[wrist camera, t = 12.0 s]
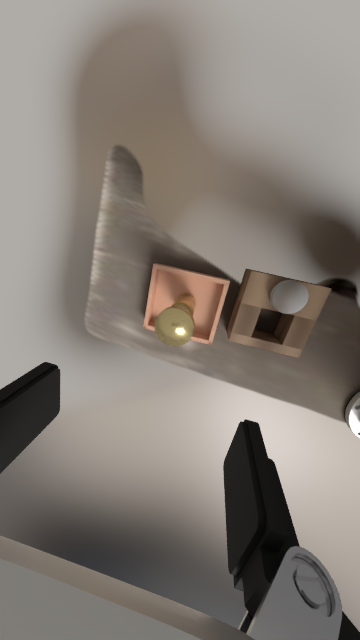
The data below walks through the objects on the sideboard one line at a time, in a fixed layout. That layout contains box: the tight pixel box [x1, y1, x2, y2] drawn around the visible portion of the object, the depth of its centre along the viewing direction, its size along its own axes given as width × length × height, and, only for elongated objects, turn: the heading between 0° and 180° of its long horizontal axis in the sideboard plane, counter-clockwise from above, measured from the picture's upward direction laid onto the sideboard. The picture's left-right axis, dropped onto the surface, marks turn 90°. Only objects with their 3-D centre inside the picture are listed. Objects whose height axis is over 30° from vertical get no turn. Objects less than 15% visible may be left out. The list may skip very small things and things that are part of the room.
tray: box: [143, 263, 230, 345], centre depth 31 cm, size 11×10×2 cm
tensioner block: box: [226, 269, 331, 358], centre depth 28 cm, size 10×10×6 cm
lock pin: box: [155, 293, 196, 346], centre depth 26 cm, size 4×4×11 cm
